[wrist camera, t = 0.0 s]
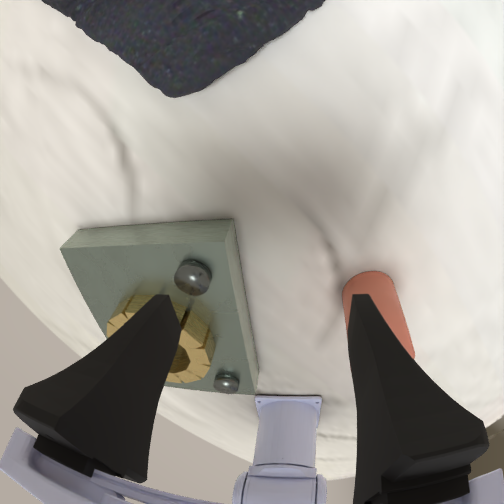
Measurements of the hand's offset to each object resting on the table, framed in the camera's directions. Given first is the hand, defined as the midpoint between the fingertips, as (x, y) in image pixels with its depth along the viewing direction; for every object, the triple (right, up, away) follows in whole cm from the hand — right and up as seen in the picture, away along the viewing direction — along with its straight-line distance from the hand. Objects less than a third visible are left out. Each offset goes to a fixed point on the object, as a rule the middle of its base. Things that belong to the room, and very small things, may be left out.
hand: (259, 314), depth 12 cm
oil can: (+9, -1, +11) cm, 15 cm away
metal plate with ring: (-7, -3, +15) cm, 17 cm away
